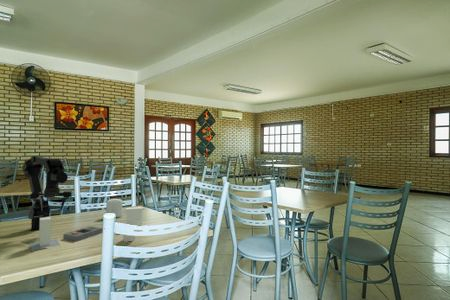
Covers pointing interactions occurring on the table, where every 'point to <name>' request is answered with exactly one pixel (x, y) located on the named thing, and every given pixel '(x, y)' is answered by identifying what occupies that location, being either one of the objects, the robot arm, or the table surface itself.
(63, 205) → the robot arm
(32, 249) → the mat
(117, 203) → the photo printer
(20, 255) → the table surface
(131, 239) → the shot glass
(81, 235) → the power strip
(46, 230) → the block
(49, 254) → the table surface
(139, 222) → the base with upright slab
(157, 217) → the table surface
